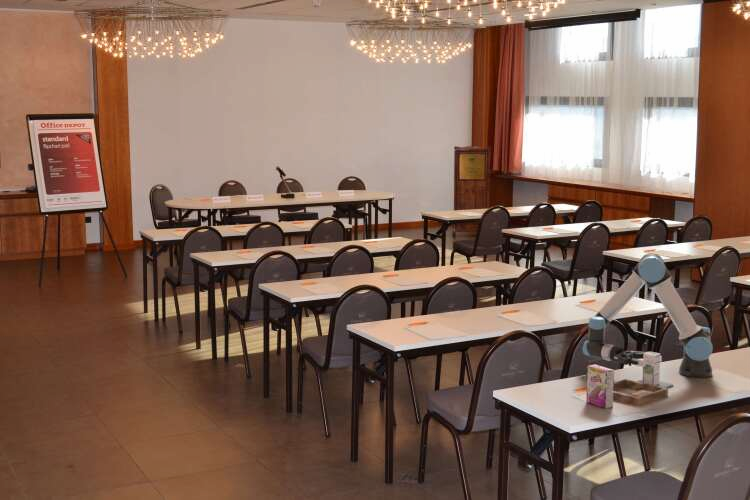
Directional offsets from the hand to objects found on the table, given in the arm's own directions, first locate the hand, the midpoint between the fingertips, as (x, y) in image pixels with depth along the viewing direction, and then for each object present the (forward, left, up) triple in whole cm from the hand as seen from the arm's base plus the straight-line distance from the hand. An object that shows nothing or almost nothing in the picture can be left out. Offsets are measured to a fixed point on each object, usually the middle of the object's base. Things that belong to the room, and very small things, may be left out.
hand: (653, 361), depth 416 cm
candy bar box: (+27, +33, -12) cm, 45 cm away
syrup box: (+1, -1, -11) cm, 11 cm away
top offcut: (+7, +21, -10) cm, 25 cm away
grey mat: (0, -1, -12) cm, 12 cm away
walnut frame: (+11, +18, -12) cm, 24 cm away
